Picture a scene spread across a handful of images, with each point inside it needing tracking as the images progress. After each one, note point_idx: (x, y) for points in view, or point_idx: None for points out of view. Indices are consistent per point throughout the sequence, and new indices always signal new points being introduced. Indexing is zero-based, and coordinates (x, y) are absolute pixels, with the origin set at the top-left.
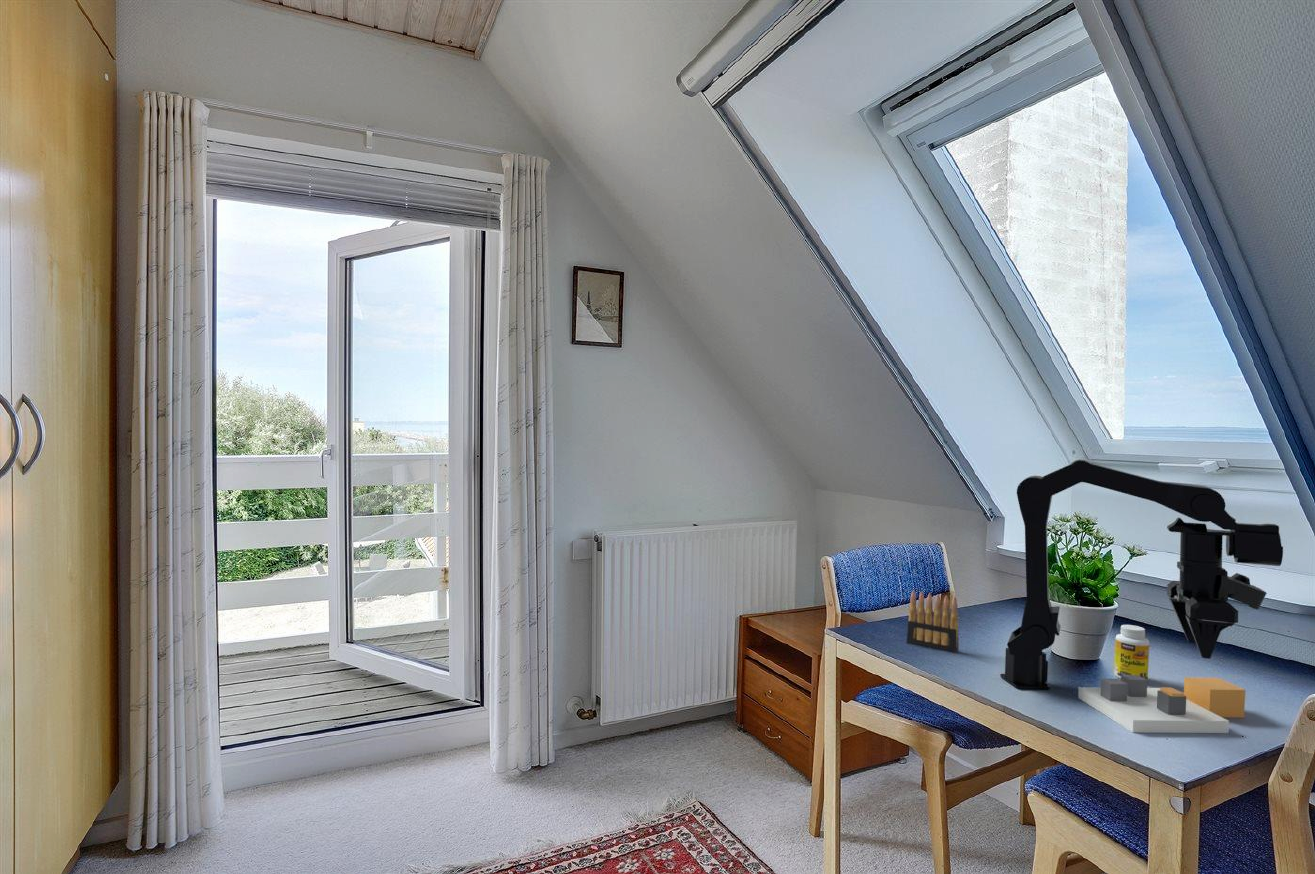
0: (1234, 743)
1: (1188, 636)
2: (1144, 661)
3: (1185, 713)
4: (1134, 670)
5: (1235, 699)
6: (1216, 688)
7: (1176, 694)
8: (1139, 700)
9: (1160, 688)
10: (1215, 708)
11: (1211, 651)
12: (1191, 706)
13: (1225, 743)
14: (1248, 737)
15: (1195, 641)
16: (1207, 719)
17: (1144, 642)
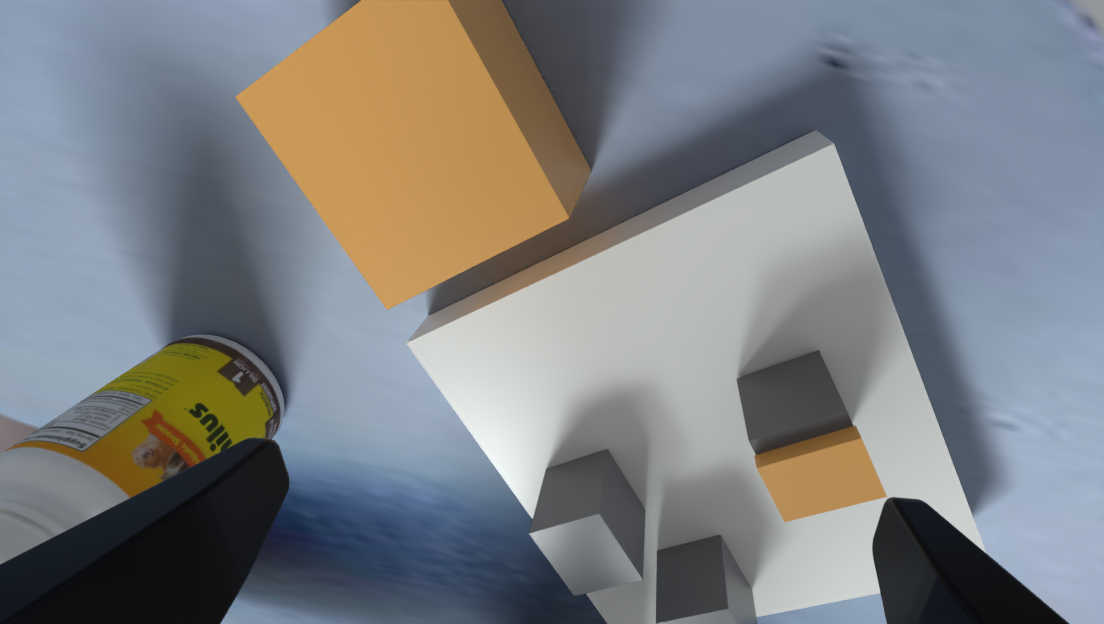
0: (978, 137)
1: (254, 541)
2: (186, 417)
3: (819, 352)
4: (250, 424)
5: (486, 31)
6: (514, 169)
7: (874, 469)
8: (682, 487)
9: (785, 516)
10: (567, 149)
11: (999, 580)
12: (652, 286)
13: (992, 185)
14: (844, 31)
15: (264, 453)
16: (850, 257)
17: (92, 499)
